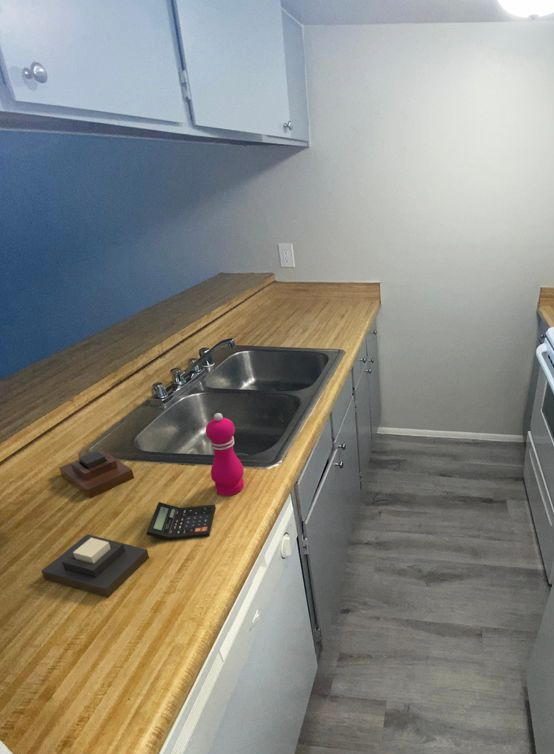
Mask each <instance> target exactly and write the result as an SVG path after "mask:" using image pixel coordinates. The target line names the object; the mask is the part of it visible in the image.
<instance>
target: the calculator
mask: <svg viewBox="0 0 554 754" xmlns="http://www.w3.org/2000/svg"><path fill="white" fill-rule="evenodd" d="M215 512H216V504H215V503H214V504H204V505H194V506H184V507H178V506H175V505H171V504H168V503H164V502H160V501H158V503H157V505H156V507H155V509H154V512H153V515H152V518H151V520H150V523H149V525H148V528H147V530H146V533H145V535H146V536H150V537H155V538H159V539H163V540H166V541H178V540H189V539H198V538H206V537H207V538H208V537H210V535H211V529H212V525H213V521H214V517H215Z"/></svg>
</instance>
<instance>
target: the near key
mask: <svg viewBox="0 0 554 754" xmlns="http://www.w3.org/2000/svg"><path fill="white" fill-rule="evenodd" d="M110 549H111V548H110V545H109V542H106V541H102V540H98V539H94V538H90V539H89V540H88V541H86V542H85V543H84V544H83V545H81V546H80V547H79V548H78V549H77V550H75V551H74V552H73V554H74V556H75V559H76V560H80V561H83V562H87V563H91V564H94V563H95V562H96V561H97V560H98V559H100V558H101V557H102V556H103V555H104V554H105V553H107V552H108V551H109V550H110Z"/></svg>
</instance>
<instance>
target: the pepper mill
mask: <svg viewBox="0 0 554 754" xmlns="http://www.w3.org/2000/svg"><path fill="white" fill-rule="evenodd" d="M235 431H236V428H235V424H234V423H233V421H232V420H230V419H228V418H226V417H223V414H222V413H219V412H217V413H215V414H214V415H213V419H211V420H210V421H208V423H207V424H206V427H205V435H206V437H207V439H209V443H210V447H211V449H212V450H213V453H214V454H213V455H214V458H213V463H212V465H211V468H210V478H211V480H212V481H213V482H214V487H215V492H216V493H217V494H219V495H221V496H226V497H227V496H234V495H237V494H238V493H240V492H241V491H242V490H243V489H244V485H245V483H244V479H243V477H244V475H245V474H244V473H245V469H244V466H243V464H242V461H241V460H240V459H239V458H238V456H237V455H236V453H235V450H234V445H235V438H234V434H235Z"/></svg>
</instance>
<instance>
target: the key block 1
mask: <svg viewBox="0 0 554 754" xmlns="http://www.w3.org/2000/svg"><path fill="white" fill-rule="evenodd" d="M98 452H99V453H101V454H102V455H104V456H105V459H106V462H104V463H102V464H99V465H97V466H95V467H92V468H90V469H87V468H86V467H84V466H83V465H82V464H81V463H80V461H79V459H77V460H75V461H72V462H69V463H67V464H65V465H61V466H59V467H58V469H59V472H60V475H61V477H62V478H64V479H65V480H66V481H67V482H69V483H70V484H71V485H73V486H74V487H75V488H76V489H77V490H79V491H80V492H81V493H83V495H85V496H86V497H88V498H89V499H93V498H94V497H97V496H99V495H102V494H103V493H106V492H108V491H110V490H112V489H114V488H116V487H118V486H121V485H123V484H125V483H127V482H129V481H131V480H133V479H135V475H134V472H133V469H132V468H130V467H128V466H127V465H126V464H125V463H123V462H122V461H120V460H118V459H117V458H115V456H112V455H111V454H110V453H108V452H107V451H105V450H104V449H102V450H98Z"/></svg>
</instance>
